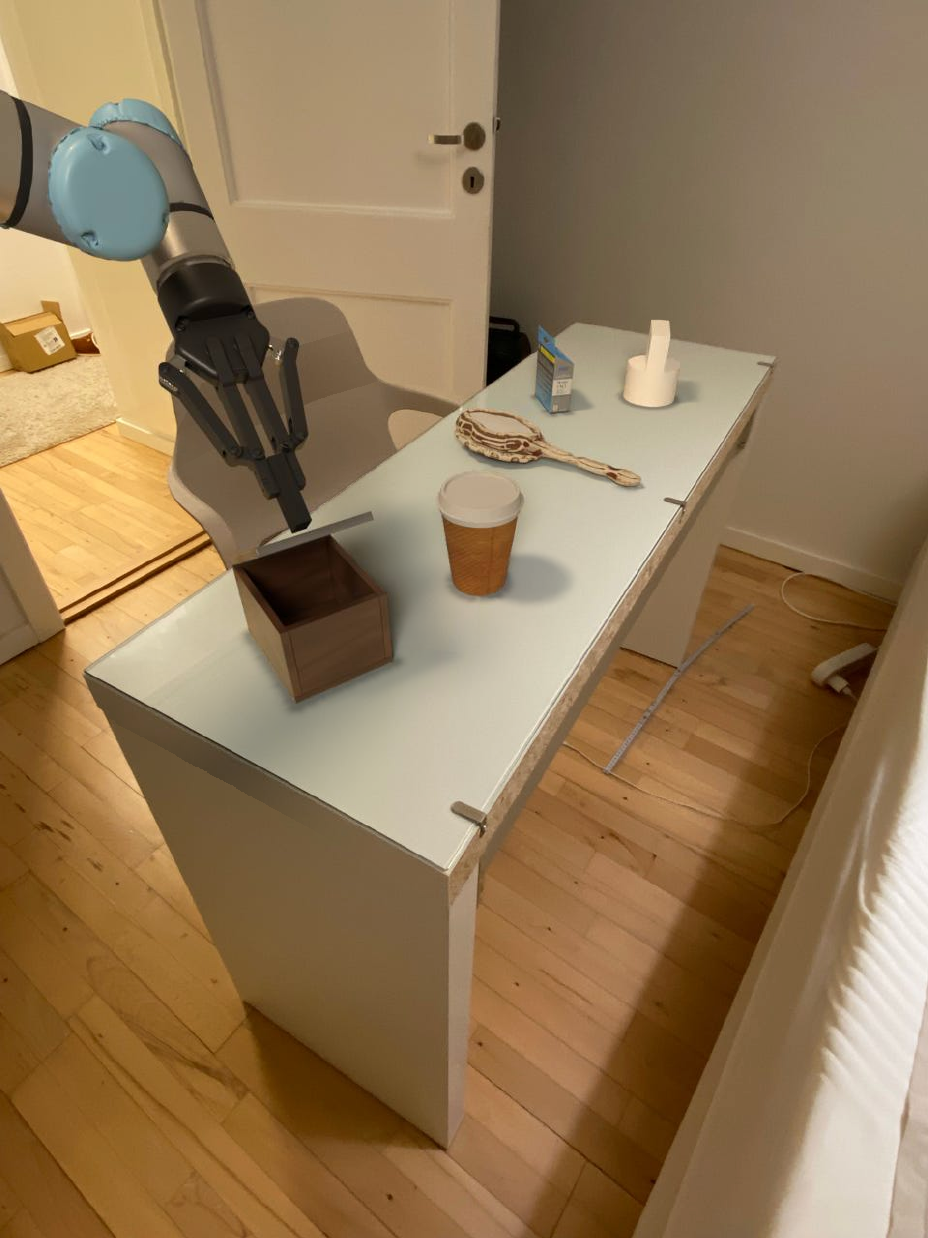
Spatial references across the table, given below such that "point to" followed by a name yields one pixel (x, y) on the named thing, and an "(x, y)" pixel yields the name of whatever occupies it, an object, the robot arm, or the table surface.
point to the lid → (301, 538)
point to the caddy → (315, 615)
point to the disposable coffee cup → (479, 528)
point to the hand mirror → (522, 442)
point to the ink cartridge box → (553, 375)
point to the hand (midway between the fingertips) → (301, 526)
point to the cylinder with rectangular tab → (653, 371)
